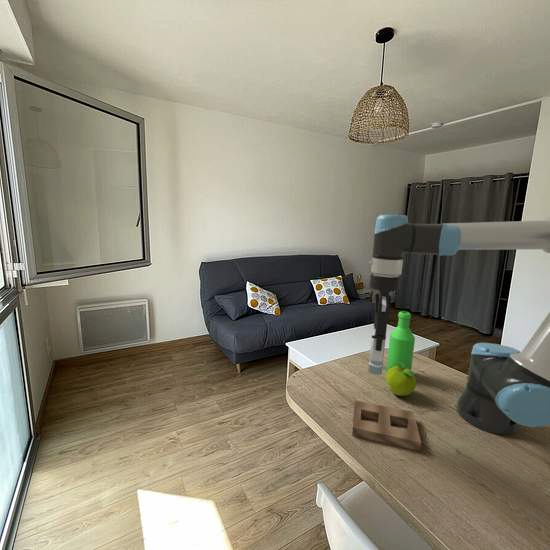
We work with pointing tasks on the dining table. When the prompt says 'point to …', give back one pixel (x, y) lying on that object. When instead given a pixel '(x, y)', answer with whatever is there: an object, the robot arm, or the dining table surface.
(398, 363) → the fruit
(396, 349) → the bottle
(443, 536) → the dining table surface
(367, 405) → the board
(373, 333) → the peg
